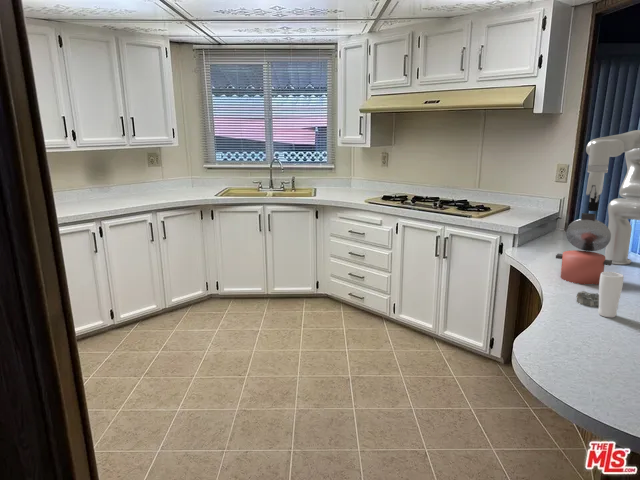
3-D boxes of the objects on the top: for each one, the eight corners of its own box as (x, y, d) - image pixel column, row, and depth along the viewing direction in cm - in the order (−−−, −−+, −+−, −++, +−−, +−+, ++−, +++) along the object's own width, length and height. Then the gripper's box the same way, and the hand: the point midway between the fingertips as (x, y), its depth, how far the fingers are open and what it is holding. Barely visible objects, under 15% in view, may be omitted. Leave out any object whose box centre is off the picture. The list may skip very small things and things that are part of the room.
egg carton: (574, 304, 164) (575, 294, 163) (577, 298, 170) (578, 288, 169) (608, 309, 158) (609, 299, 157) (609, 303, 163) (611, 293, 162)
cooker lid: (566, 248, 201) (567, 244, 202) (609, 253, 190) (610, 249, 192) (565, 213, 191) (567, 209, 192) (611, 216, 180) (613, 212, 182)
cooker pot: (560, 269, 205) (562, 247, 203) (612, 277, 192) (615, 253, 190) (550, 279, 192) (552, 255, 190) (605, 288, 179) (609, 262, 176)
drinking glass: (622, 319, 148) (627, 277, 145) (600, 318, 150) (605, 277, 146) (613, 311, 155) (618, 271, 152) (592, 311, 156) (597, 271, 153)
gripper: (591, 167, 198) (586, 207, 202) (584, 170, 186) (579, 212, 190) (610, 168, 193) (605, 209, 197) (604, 170, 181) (599, 213, 185)
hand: (593, 210), depth 193 cm, fingers closed
